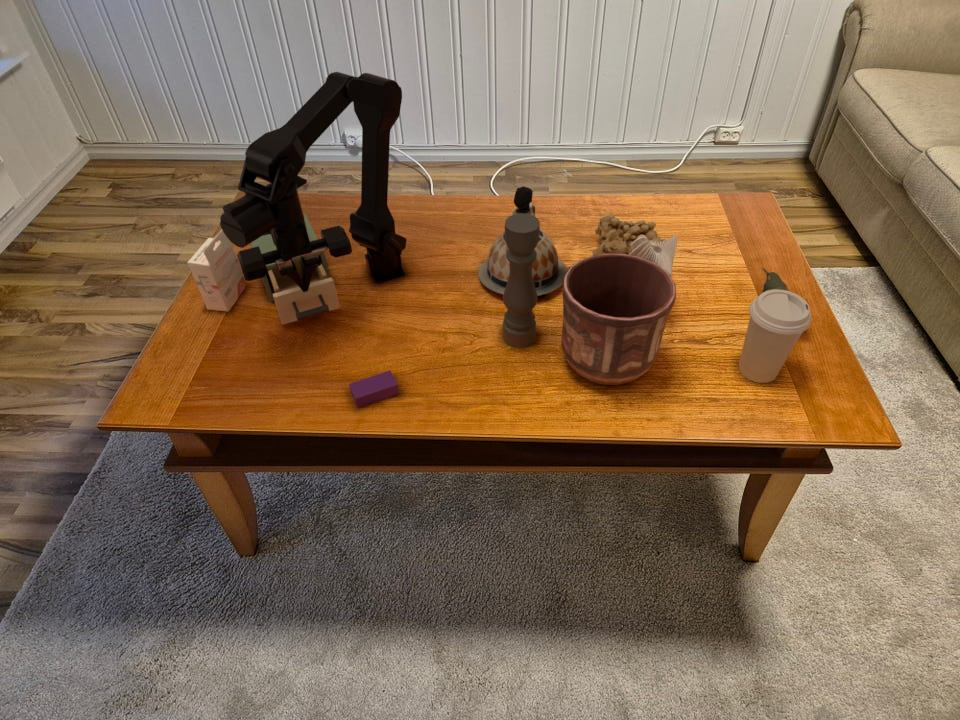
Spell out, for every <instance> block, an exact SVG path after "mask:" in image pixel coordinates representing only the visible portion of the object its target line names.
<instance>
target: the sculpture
mask: <svg viewBox="0 0 960 720" xmlns="http://www.w3.org/2000/svg"><path fill="white" fill-rule="evenodd" d="M761 269H762V270H763V272H764V273H765V274H766V280H765V282H764V283H763V289H762V292H761V293H763V292H765V291H768V290H774V289H779V290H786V291H790V290H789V288H788V285H787V284H786V283H785V282H784V281H783V280H782V278H781V276H780V275H779V274H778V273H776V272H774V271H770V272H768V271H767V270H766V268H765V267H761Z"/></svg>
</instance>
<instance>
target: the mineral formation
mask: <svg viewBox="0 0 960 720" xmlns="http://www.w3.org/2000/svg"><path fill="white" fill-rule="evenodd" d="M655 228H656V222H654V221H648V222H646V220H644V219H643V220H642V219H641V220H638V221H637V222H633V221H632V220H630V221H628V220H623V221H621V220H620V219H619V217H615V215H613V214H611V213H606V215H601V216H600V217H599V221H598V222H597V227H596V228H595V230H594V232H595V234H596V235H598V241H599V242H600V245H598V246H597V248H596V249H595V250H593V251H592V256H595V255H600V254H627V255H629V254H630V253H631V252H632V249H631V247H630V245H631V243H632V242H633V241H635V240H636V239H638V237H639V236H640V235H645V236H646V237H647V239H648V240H649V241H650V240H651V241H652V242H653V243H654V241H655V242H656V244H657V248H658V243H659V244H660V242H661V241H662V243H663V241H664V240H665V241H667V239H666V238H663V239H661V237H660V236H658V232H657V231H656V230H655ZM644 259H645V258H644Z"/></svg>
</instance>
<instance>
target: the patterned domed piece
mask: <svg viewBox="0 0 960 720" xmlns="http://www.w3.org/2000/svg"><path fill="white" fill-rule="evenodd" d="M533 194H534V191H533V190H532V188H530V187H527V186H523V185H521V186H520V187H517V188H516V190H515V193H514V195H513V204H514V206H515V207H516V208H515V209H514V210H513V211H512V213H511V214H512V215H514V214H519V213H525V214H530V215H533V216H535V217H536V206H535V205H534V203H533ZM491 245H492V246H491V247H490V249H489V253H488V258H487V259H485V260H484V261H483V262H482V263H481V264H480V266H479V268H478V273H477V274H478V279H479V281H480V282H481V284H482V285H483V286H485V287H486V288H487V289H489V290H490V291H493V292H495V293H497V294H501V295H504V291H505V288H506V284H507V281H508V278H509V274H510V262H509V261H508V260H507V258H506V252H507V250H508V249H509V248H508V246H507V244H506V242H505V231H504V232H502V233H500V234H499V235H498V236H497V237H496V238H495V240H494V242H493V243H492V244H491ZM535 251H536V252H537V257H536V260H535V261H534V262H533V263H532V276H533V280H534V284H535V288H536V292H537V297H538V296H540V298H541V299H544V298H545V297H546V296H547V295H548V294H549V293H552V292H554V291H556V290H557V289H559V288H560V287H562V286H563V280H564V276H565V274H566V273H567V271H568V267H567V266H566V265H565V263H564V262H563V261H562V260H561V259H560V258H559V256H558V251H557V248H556V246H555V244H554V241H552V239H551V238H550V236H549V235H548V234H547V233H545V232H544V231H543V230H541V229H540V230H539V242H538V243H537V246H536V247H535Z"/></svg>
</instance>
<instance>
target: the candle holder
mask: <svg viewBox="0 0 960 720" xmlns="http://www.w3.org/2000/svg"><path fill="white" fill-rule="evenodd" d="M540 227H541V221H540V220H539V218H538V217H537V216H536V215H535V216H533V215H530V214H525V213H519V214H514V215H513V214H512V215H510V216H508V217H507V218H506V219H505V221H504V232H505V242H506V244H507V246H508V248H509V249H508V250H507V252H506V258H507V260H508V261H509V262H510V274H509V278H508V281H507V284H506V288H505V291H504V295H503V294H502V295H503V297H502V302H503V304H504V306H505V308H506V309H507V310H506V311H505V313H504V316H503V319H502V320H503V321H502V340H503V342H504V343H505V344H507V345H508V346H510V347H512V348H516V349H522V348H528V347H530V346H531V345H532V344H533V343H534V342H535V341H536V335H537V333H536V331H537V321H536V316H535V313H534V311H533V309H534V308H535V307H536V305H537V303H538V296H537V292H536V288H535V284H534V280H533V276H532V263H533V262H534V261H535V260H536V257H537V252H536V251H535V247H536V246H537V243H538V242H539V230H541V228H540Z"/></svg>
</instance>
